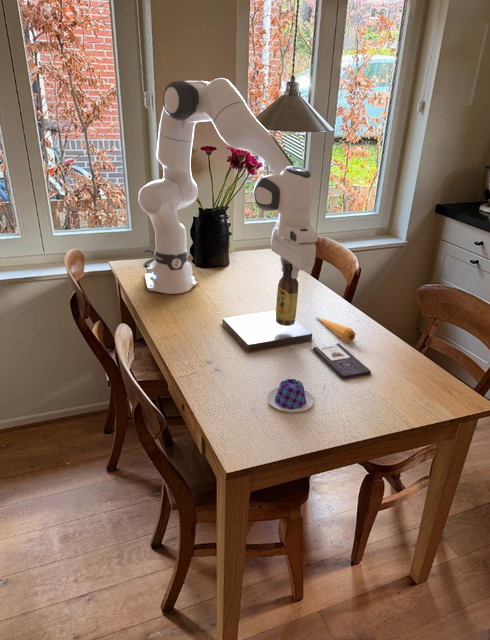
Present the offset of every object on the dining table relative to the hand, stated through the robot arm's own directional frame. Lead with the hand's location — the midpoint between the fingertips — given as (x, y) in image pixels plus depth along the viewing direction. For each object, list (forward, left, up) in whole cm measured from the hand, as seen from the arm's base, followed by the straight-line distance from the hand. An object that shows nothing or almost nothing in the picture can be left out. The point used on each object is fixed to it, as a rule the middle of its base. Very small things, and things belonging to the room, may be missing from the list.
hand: (289, 275), depth 158 cm
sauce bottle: (0, 0, -16) cm, 16 cm away
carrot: (+1, +18, -21) cm, 28 cm away
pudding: (+33, -16, -21) cm, 42 cm away
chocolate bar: (+20, +8, -21) cm, 30 cm away
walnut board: (-5, -4, -21) cm, 22 cm away
